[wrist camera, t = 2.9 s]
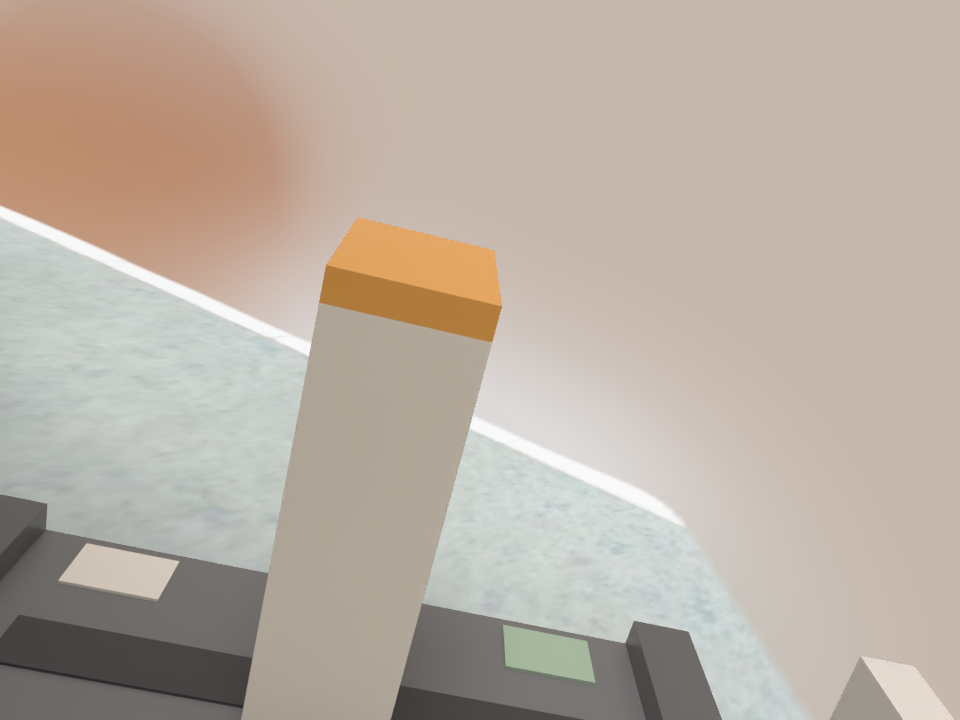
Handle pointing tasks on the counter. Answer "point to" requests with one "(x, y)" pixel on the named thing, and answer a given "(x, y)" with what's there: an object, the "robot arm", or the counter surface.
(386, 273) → the handle
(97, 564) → the dark grey slider track
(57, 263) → the counter surface
